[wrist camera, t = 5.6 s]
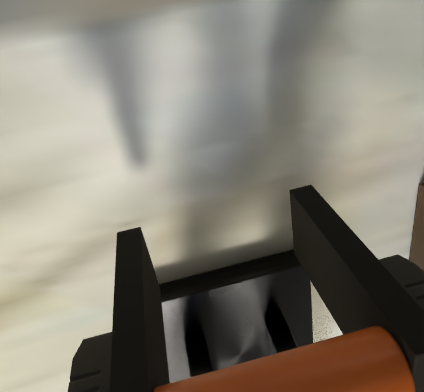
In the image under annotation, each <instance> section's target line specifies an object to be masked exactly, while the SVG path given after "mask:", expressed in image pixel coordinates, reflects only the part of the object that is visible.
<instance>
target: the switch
mask: <svg viewBox="0 0 424 392" xmlns="http://www.w3.org/2000/svg"><path fill="white" fill-rule="evenodd" d="M154 392H416V389H415V383H414V378H413V375H412V372H411V369H410V366H409V364H408V361H407V359H406V357H405V355H404V353H403V351H402V349H401V348H400V346H399V344H398V343H397V342H396V340H395V339H394V338H393V336H392V335H391V334H390V333H389V332H388V331H387V330H386V329H384V328H383V327H380V326H373V327H369V328H365V329H362V330H358V331H355V332H351V333H348V334H344V335H341V336H337V337H333V338H330V339H326V340H323V341H319V342H316V343H312V344H308V345H305V346H301V347H298V348H294V349H291V350H287V351H283V352H280V353H276V354H273V355H269V356H266V357H262V358H258V359H255V360H251V361H248V362H244V363H241V364H237V365H233V366H230V367H226V368H223V369H219V370H216V371H212V372H209V373H205V374H201V375H198V376H194V377H191V378H187V379H184V380H180V381H176V382H173V383H169V384H166V385H162V386H159V387H157V388H155V389H154Z"/></svg>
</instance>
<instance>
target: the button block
mask: <svg viewBox="0 0 424 392" xmlns="http://www.w3.org/2000/svg"><path fill="white" fill-rule="evenodd" d="M409 261H411V262H413V263H415V264H417V265H418V266H419V267H420V268H421V269H422V270H423V271H424V183H421V184H419V191H418V199H417V206H416V214H415V221H414V229H413V236H412V244H411V251H410V259H409Z"/></svg>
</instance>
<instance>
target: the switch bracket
mask: <svg viewBox="0 0 424 392" xmlns="http://www.w3.org/2000/svg"><path fill="white" fill-rule="evenodd" d="M159 286H160V292H161V301H162V311H163V321H164V331H165V341H166V351H167V361H168V371H169V380H170V383H173V382H176V381H180V380H184V379H187V378H191V377H194V376H198V375H201V374H205V373H209V372H212V371H216V370H219V369H223V368H226V367H230V366H233V365H237V364H241V363H244V362H248V361H251V360H255V359H258V358H262V357H266V356H269V355H273V354H276V353H280V352H283V351H287V350H291V349H294V348H298V347H301V346H305V345H308V344H312V343H313V330H312V307H311V285H310V279H309V277H308V275H307V274H306V272H305V270H304V269H303V267H302V265H301V264H300V262H299V260H298V259H297V257H296V255H295V254H294V250H291V251H287V252H283V253H279V254H275V255H271V256H268V257H264V258H260V259H256V260H252V261H248V262H244V263H241V264H237V265H233V266H229V267H225V268H221V269H217V270H214V271H210V272H206V273H202V274H198V275H194V276H190V277H187V278H183V279H179V280H175V281H171V282H167V283H163V284H160V285H159Z"/></svg>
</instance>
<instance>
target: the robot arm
mask: <svg viewBox="0 0 424 392" xmlns="http://www.w3.org/2000/svg"><path fill="white" fill-rule="evenodd" d="M290 204H291V218H292V231H293V245H294V254H295V255H296V257H297V259H298V260H299V262H300V264H301V265H302V267H303V269H304V270H305V272H306V274H307V275H308V277H309V279H310V280H311V282H312V283H313V285H314V287H315V288H316V290H317V292H318V293H319V295H320V297H321V298H322V300H323V302H324V303H325V305H326V307H327V308H328V310H329V311H330V313H331V315H332V316H333V318H334V320H335V321H336V323H337V325H338V326H339V328H340V330H341V331H342V333H343V335H344V334H348V333H351V332H355V331H358V330H362V329H365V328H369V327H373V326H380V327H383V328H384V329H386V330H387V331H388V332H389V333H390V334H391V335H392V336H393V338H394V339H395V340H396V342H397V343H398V344H399V346H400V348H401V349H402V351H403V353H404V355H405V357H406V359H407V361H408V364H409V366H410V369H411V372H412V375H413V378H414V383H415V389H416V392H424V271H423V270H422V269H421V268H420V267H419V266H418V265H417V264H415V263H413V262H411V261H409V260H407V259H405V258H403V257H401V256H400V255H394V256H391V257H387V258H383V259H379V260H378V259H377V258H376V257H375V256H374V255H373V253H372V252H371V251H370V250H369V249H368V248H367V247H366V246H365V244H364V243H363V242H362V241H361V240H360V239H359V238H358V237H357V236H356V234H355V233H354V232H353V231H352V230H351V229H350V228H349V227H348V225H347V224H346V223H345V222H344V221H343V220H342V219H341V218H340V217H339V215H338V214H337V213H336V212H335V211H334V210H333V209H332V208H331V206H330V205H329V204H328V203H327V202H326V201H325V200H324V199H323V198H322V196H321V195H320V194H319V193H318V192H317V191H316V190H315V189H314V187H313V186H312V185H308V186H304V187H300V188H296V189H292V190H290ZM169 383H170V380H169V371H168V361H167V351H166V341H165V331H164V321H163V311H162V301H161V292H160V286H159V283H158V280H157V277H156V274H155V271H154V268H153V264H152V261H151V258H150V255H149V252H148V249H147V246H146V243H145V240H144V237H143V234H142V231H141V227H138V228H134V229H130V230H126V231H122V232H118V233H117V245H116V266H115V287H114V308H113V329H112V332H110V333H106V334H102V335H99V336H95V337H91V338H87V339H84V340H83V341H82V343H81V345H80V347H79V348H78V350H77V352H76V354H75V356H74V357H73V361H72V367H71V374H70V383H69V388H68V392H154V389H155V388H157V387H159V386H162V385H166V384H169Z"/></svg>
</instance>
